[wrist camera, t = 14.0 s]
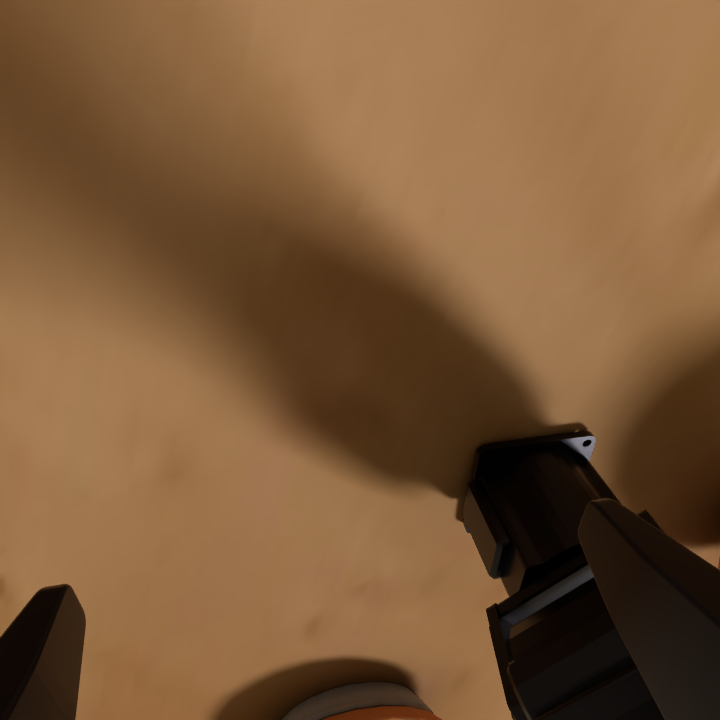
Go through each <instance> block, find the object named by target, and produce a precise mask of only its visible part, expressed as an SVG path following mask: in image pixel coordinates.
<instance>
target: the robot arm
mask: <svg viewBox="0 0 720 720" xmlns="http://www.w3.org/2000/svg"><path fill="white" fill-rule="evenodd" d="M595 442H596V439H595V437H594V436H593V435H592V433H591V432H589V431H582V432H574V433H567V434H559V435H552V436H544V437H537V438H530V439H522V440H515V441H507V442H500V443H492V444H486V445H482V446H481V447H479V448H478V449H477V451H476V454H475V460H474V466H473V472H472V477H471V480H470V482H469V483H468V485H467V490H466V496H465V502H464V508H463V517H464V527H465V529H466V531H467V532H468V533H471V535H472V538H473V540H474V542H475V545H476V547H477V549H478V551H479V554H480V556H481V558H482V560H483V563H484V565H485V567H486V570H487V572H488V574H489V576H491V577H492V578H493V579H499V578H501V580H502V582H503V584H504V587H505V589H506V591H507V593H508V595H509V598H507V599H505V600H504V601H502V602H500V603H499V604H496V603H495V604H493V605H492V606H490V607H488V608H487V609H486V612H487V617H488V621H489V625H490V626H489V630H490V634H491V638H492V642H493V646H494V651H495V655H496V659H497V663H498V668H499V672H500V676H501V680H502V684H503V689H504V693H505V697H506V701H507V705H508V707H509V709H510V711H511V715H512V719H513V720H720V570H719V569H717V568H716V567H714V566H713V565H711V564H710V563H708V562H707V561H705V560H704V559H702V558H701V557H699V556H698V555H696V554H695V553H693V552H692V551H690V550H689V549H687V548H686V547H684V546H683V545H681V544H680V543H678V542H677V541H675V540H674V539H672V538H671V537H669V536H668V535H667V534H666V533H665V532H664V530H663V529H662V528H661V527H660V526H659V524H658V523H657V522H656V521H655V520H654V519H653V517H652V516H651V515H650V514H649V513H648V512H647V510H644V511H642V512H641V513H639V514H637V515H636V514H635V513H633V512H632V511H630V510H629V509H627V508H626V507H624V506H623V505H622V504H621V503H620V501H619V500H618V499H617V497H616V496H615V495H614V494H613V492H612V491H611V490H610V488H609V487H608V486H607V484H606V483H605V482H604V480H603V479H602V478H601V476H600V475H599V474H598V473H597V471H596V470H595V469H594V467H593V466H592V465H591V463H590V462H589V460H590V457H591V454H592V451H593V448H594V445H595ZM85 626H86V619H85V613H84V610H83V608H82V606H81V604H80V602H79V600H78V598H77V596H76V594H75V592H74V590H73V589H72V587H71V586H70V585H68V584H61V585H55V586H48V587H44V588H42V589H40V590H39V591H38V592H37V593H36V594H35V595H34V596H33V597H32V598H31V600H30V601H29V602H28V603H27V605H26V606H25V607H24V608H23V610H22V611H21V612H20V613H19V615H18V616H17V617H16V618H15V620H14V621H13V622H12V623H11V624H10V626H9V627H8V628H7V629H6V631H5V632H4V633H3V634H2V636H1V637H0V720H75V717H76V709H77V700H78V691H79V682H80V673H81V664H82V654H83V645H84V636H85Z"/></svg>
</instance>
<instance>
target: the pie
mask: <svg viewBox="0 0 720 720" xmlns="http://www.w3.org/2000/svg"><path fill="white" fill-rule="evenodd" d="M282 720H441V719H440V718H438V717H437V716H435V715H434V714H433V712H432V711H431V710H430V708H429V707H428V706H427V705H426V704H425V703H424V702H423V701H422V700H421V699H420V698H419V697H418V696H417V695H416V694H415V693H414V692H412V691H411V690H409V689H408V688H406V687H405V686H401V685H397V684H393V683H389V682H365V683H357V684H349V685H346V686H342V687H338V688H334V689H330V690H327V691H325V692H323V693H320V694H318V695H315V696H313V697H311V698H308V699H307V700H305V701H304V702H302V703H300V704H299V705H297V706H296V707H294V708H293V709H292V710H291V711H290V712H289V713H288V714H287V715H286V716H285V717H284V718H283V719H282Z"/></svg>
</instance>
